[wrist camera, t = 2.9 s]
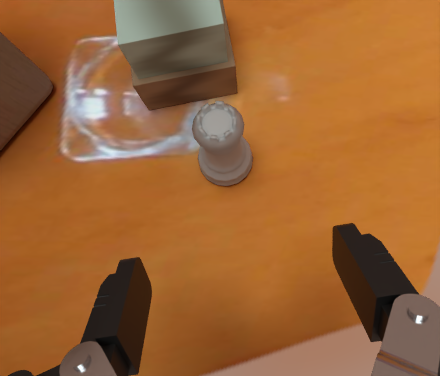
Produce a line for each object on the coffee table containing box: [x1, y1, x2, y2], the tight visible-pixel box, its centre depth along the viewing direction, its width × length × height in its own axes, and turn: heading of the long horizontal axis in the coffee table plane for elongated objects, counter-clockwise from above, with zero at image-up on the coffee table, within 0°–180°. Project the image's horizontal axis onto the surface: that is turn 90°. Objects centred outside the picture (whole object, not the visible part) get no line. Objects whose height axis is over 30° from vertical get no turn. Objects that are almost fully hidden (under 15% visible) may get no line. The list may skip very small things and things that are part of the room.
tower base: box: [114, 0, 237, 110], centre depth 25 cm, size 8×8×8 cm
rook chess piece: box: [192, 101, 253, 186], centre depth 23 cm, size 4×4×8 cm
